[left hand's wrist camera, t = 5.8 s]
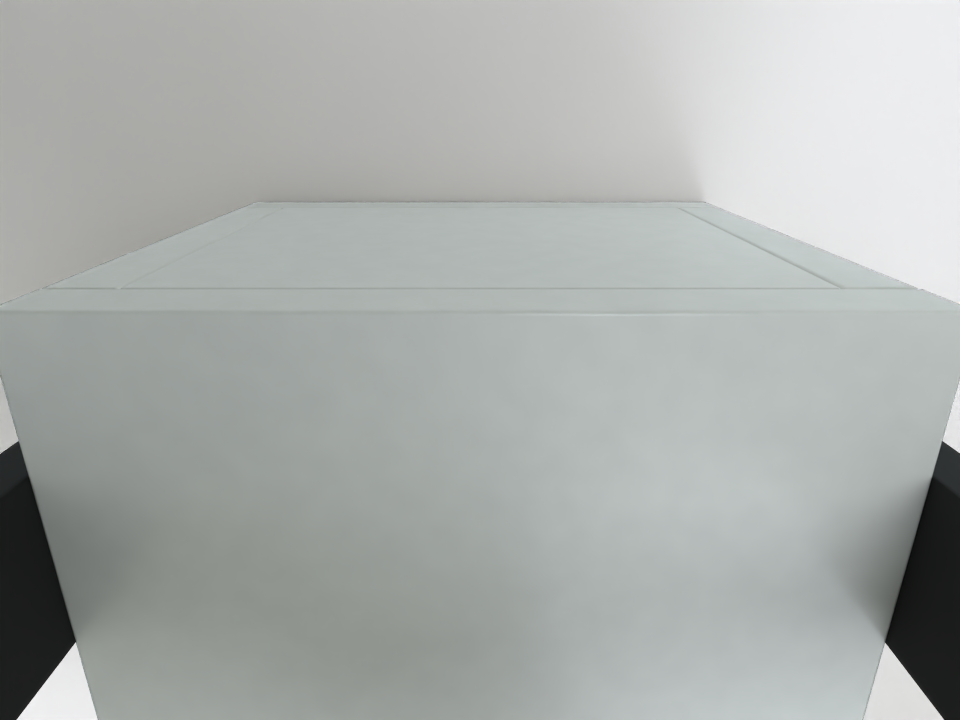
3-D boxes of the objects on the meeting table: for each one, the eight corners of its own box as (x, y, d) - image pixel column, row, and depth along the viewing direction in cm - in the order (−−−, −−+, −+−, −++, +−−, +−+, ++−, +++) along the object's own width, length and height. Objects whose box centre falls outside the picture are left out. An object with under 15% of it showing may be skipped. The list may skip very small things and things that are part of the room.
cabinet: (634, 797, 24) (726, 1205, 15) (326, 796, 24) (234, 1204, 15) (707, 201, 16) (982, 311, 7) (254, 201, 17) (-20, 311, 7)
